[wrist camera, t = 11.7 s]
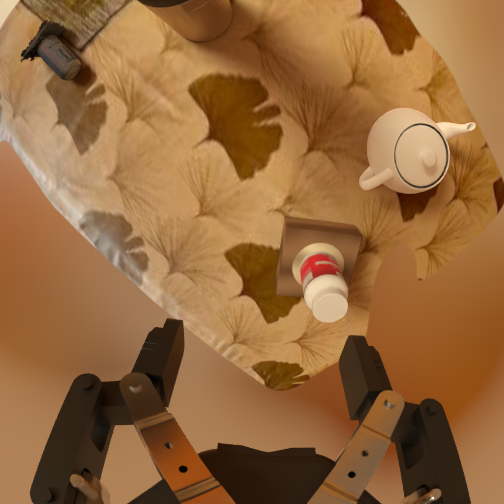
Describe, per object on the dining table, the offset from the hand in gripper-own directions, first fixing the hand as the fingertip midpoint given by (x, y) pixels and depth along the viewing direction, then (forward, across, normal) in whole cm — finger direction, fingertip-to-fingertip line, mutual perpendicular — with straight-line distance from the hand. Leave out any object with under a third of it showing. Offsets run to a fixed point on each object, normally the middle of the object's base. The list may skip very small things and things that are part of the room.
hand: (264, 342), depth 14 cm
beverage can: (+36, +38, -22) cm, 57 cm away
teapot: (+36, -22, -9) cm, 43 cm away
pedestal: (+36, -10, +12) cm, 39 cm away
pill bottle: (+31, -10, +12) cm, 35 cm away
